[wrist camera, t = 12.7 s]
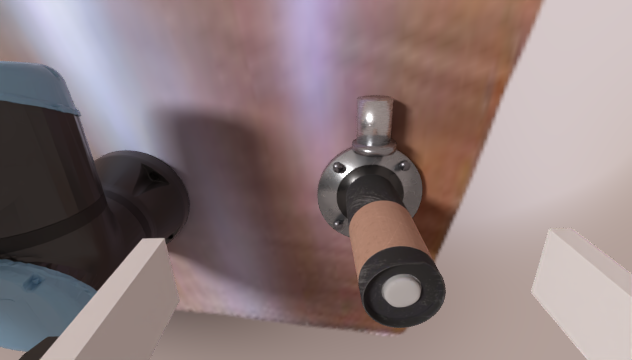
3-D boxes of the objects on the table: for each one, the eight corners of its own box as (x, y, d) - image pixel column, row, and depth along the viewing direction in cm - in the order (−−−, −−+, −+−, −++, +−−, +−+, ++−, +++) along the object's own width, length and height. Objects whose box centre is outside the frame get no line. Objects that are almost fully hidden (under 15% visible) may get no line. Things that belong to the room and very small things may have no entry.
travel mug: (346, 222, 50) (363, 333, 31) (340, 175, 47) (356, 267, 28) (398, 216, 49) (446, 325, 31) (396, 168, 46) (448, 257, 28)
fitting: (318, 237, 52) (319, 259, 47) (314, 97, 44) (314, 105, 39) (415, 234, 52) (426, 256, 47) (430, 93, 44) (445, 101, 38)
